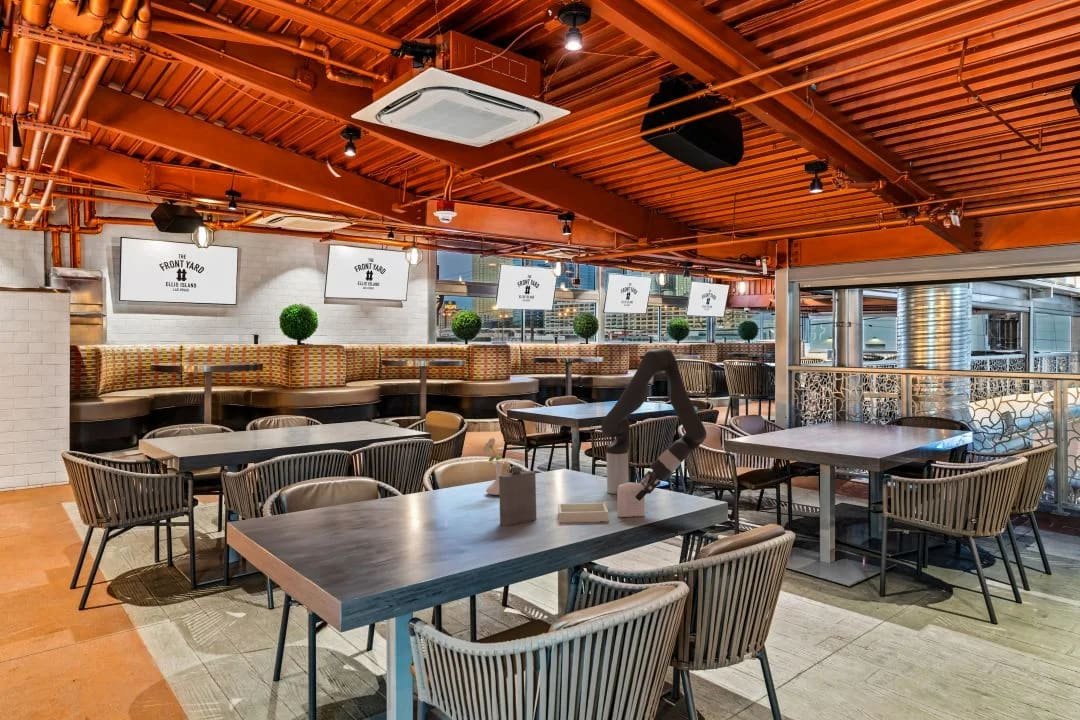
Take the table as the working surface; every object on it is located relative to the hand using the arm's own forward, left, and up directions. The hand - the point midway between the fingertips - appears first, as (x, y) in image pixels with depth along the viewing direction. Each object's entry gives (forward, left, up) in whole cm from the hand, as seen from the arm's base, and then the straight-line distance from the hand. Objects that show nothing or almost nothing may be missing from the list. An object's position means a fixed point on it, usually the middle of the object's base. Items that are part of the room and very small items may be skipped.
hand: (635, 496), depth 243 cm
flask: (+4, -44, -7) cm, 45 cm away
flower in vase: (-41, -54, -7) cm, 68 cm away
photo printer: (0, -2, -7) cm, 8 cm away
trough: (0, -20, -7) cm, 21 cm away
